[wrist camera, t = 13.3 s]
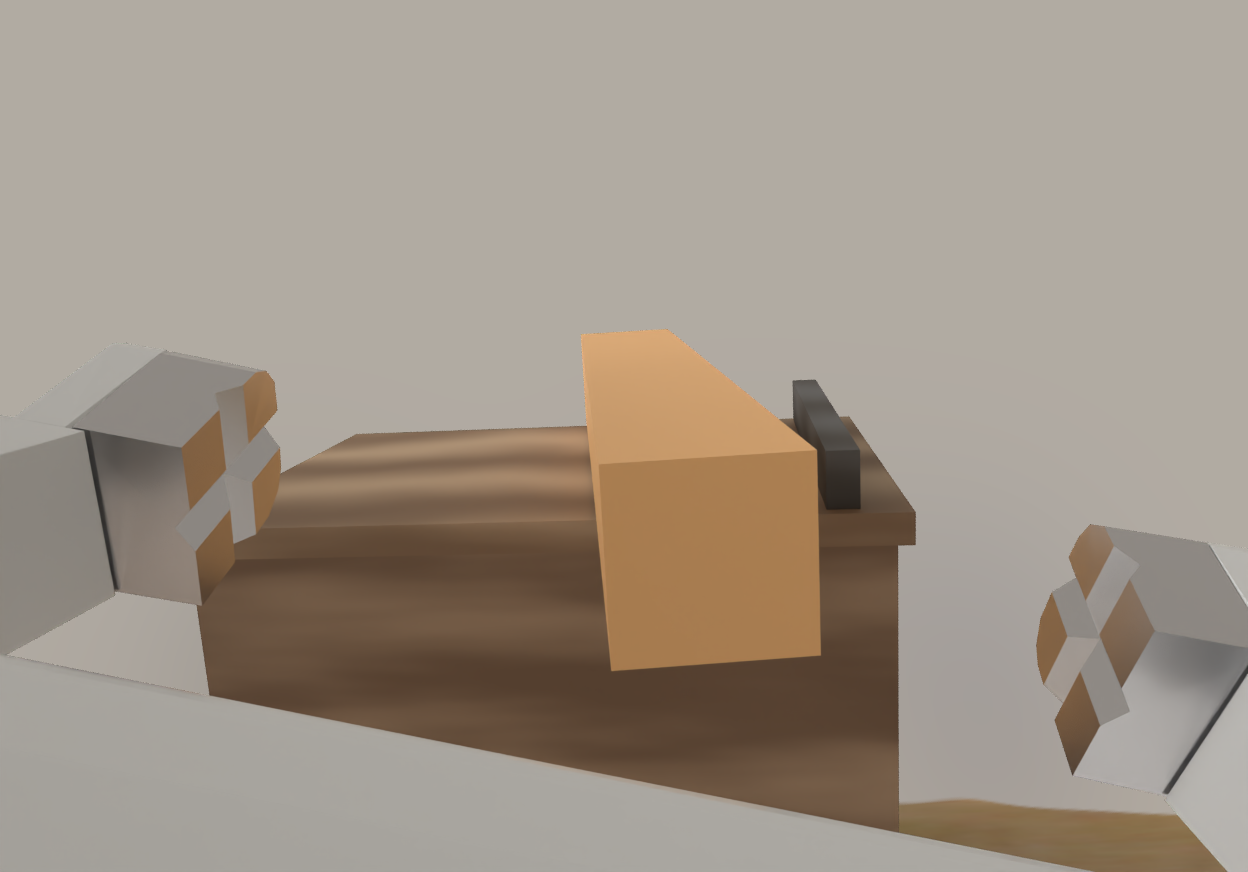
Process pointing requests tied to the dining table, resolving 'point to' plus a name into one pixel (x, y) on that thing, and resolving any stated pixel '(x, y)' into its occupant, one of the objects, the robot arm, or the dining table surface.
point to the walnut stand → (558, 620)
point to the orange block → (697, 510)
